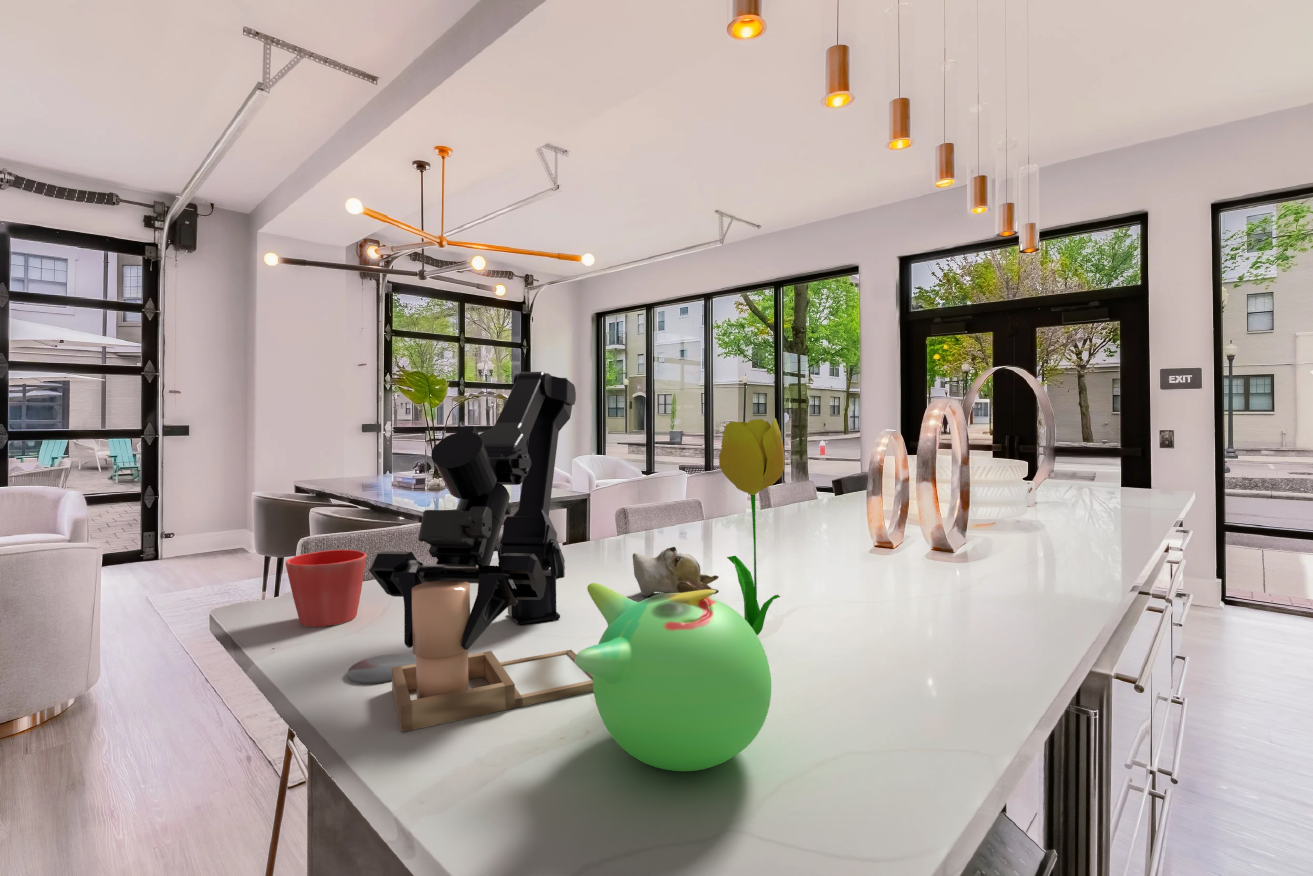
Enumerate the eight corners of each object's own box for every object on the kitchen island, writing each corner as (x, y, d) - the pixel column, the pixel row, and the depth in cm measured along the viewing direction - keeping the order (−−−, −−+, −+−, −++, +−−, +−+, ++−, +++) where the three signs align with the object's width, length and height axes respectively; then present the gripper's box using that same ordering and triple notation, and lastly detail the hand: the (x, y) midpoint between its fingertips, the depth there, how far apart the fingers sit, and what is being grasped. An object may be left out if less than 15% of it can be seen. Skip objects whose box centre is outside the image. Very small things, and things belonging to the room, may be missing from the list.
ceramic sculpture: (636, 538, 114) (720, 543, 113) (634, 585, 115) (717, 591, 113) (628, 550, 104) (720, 557, 102) (626, 603, 104) (717, 610, 103)
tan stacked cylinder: (466, 688, 71) (464, 577, 71) (476, 709, 66) (474, 589, 65) (410, 699, 68) (408, 584, 68) (417, 721, 63) (414, 596, 63)
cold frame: (571, 656, 80) (570, 637, 80) (604, 688, 70) (603, 666, 70) (392, 689, 71) (391, 667, 71) (401, 732, 61) (401, 706, 61)
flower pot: (336, 633, 90) (334, 565, 90) (270, 629, 93) (268, 562, 92) (382, 611, 101) (381, 550, 101) (322, 608, 103) (320, 548, 103)
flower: (792, 636, 87) (791, 417, 86) (778, 656, 80) (776, 417, 79) (732, 628, 91) (730, 418, 90) (713, 646, 83) (711, 418, 83)
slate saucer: (413, 655, 81) (413, 650, 81) (420, 675, 75) (420, 670, 75) (347, 665, 78) (347, 661, 78) (348, 688, 71) (348, 683, 71)
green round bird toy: (797, 806, 49) (796, 616, 48) (575, 819, 47) (573, 624, 47) (745, 703, 66) (744, 564, 66) (584, 710, 65) (582, 568, 65)
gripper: (376, 480, 71) (314, 605, 61) (537, 480, 69) (501, 610, 58) (413, 537, 79) (363, 657, 69) (557, 539, 77) (530, 663, 66)
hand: (435, 646), depth 65 cm, fingers closed on tan stacked cylinder, 6 cm apart
